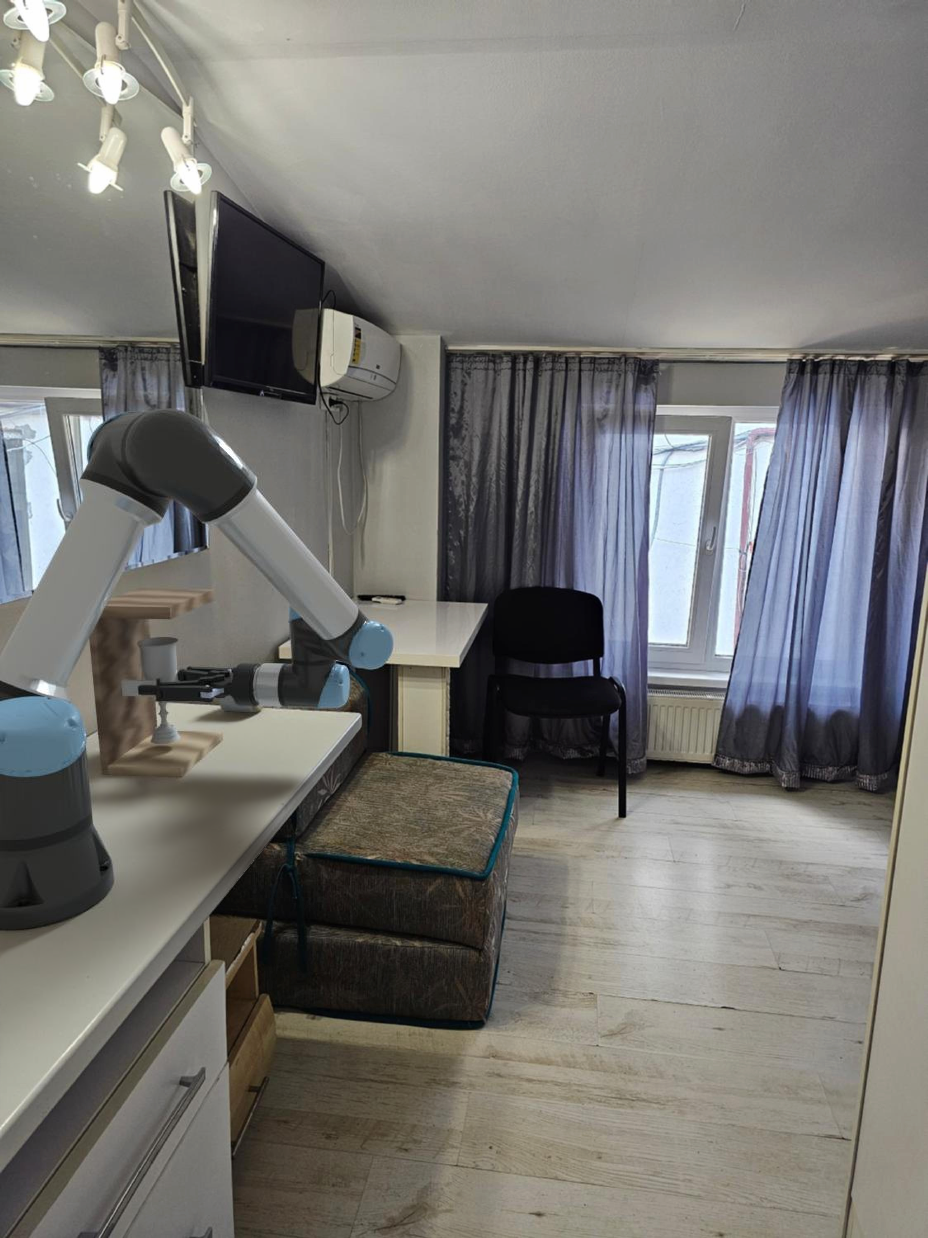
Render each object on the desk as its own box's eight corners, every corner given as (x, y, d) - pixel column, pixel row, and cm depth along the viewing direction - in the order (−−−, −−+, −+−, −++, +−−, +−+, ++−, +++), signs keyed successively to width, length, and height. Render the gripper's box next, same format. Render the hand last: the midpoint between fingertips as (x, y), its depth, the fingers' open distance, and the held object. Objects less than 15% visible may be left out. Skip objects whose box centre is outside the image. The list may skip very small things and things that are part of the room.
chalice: (144, 735, 139) (136, 638, 136) (184, 730, 142) (177, 635, 138) (145, 748, 133) (136, 647, 129) (186, 743, 135) (179, 644, 132)
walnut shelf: (181, 776, 129) (169, 607, 123) (101, 774, 130) (86, 605, 124) (223, 739, 146) (214, 589, 140) (152, 737, 147) (140, 588, 142)
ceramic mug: (255, 717, 159) (254, 681, 158) (218, 715, 160) (216, 679, 159) (275, 703, 170) (274, 669, 168) (240, 701, 171) (238, 667, 169)
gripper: (241, 723, 125) (106, 720, 127) (278, 689, 144) (159, 687, 146) (239, 679, 124) (101, 676, 126) (276, 651, 142) (156, 648, 144)
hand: (133, 682), depth 136 cm, fingers closed on chalice, 6 cm apart
